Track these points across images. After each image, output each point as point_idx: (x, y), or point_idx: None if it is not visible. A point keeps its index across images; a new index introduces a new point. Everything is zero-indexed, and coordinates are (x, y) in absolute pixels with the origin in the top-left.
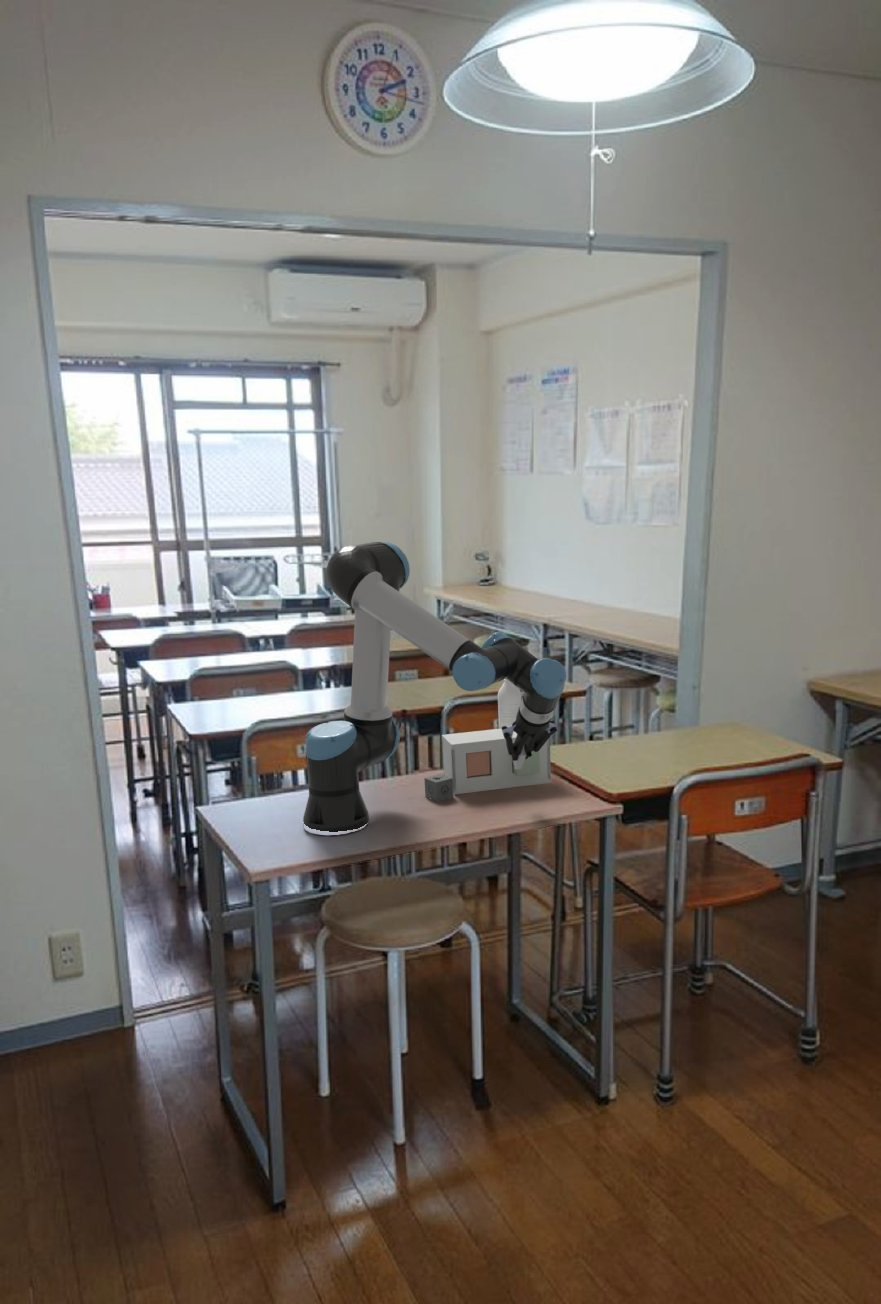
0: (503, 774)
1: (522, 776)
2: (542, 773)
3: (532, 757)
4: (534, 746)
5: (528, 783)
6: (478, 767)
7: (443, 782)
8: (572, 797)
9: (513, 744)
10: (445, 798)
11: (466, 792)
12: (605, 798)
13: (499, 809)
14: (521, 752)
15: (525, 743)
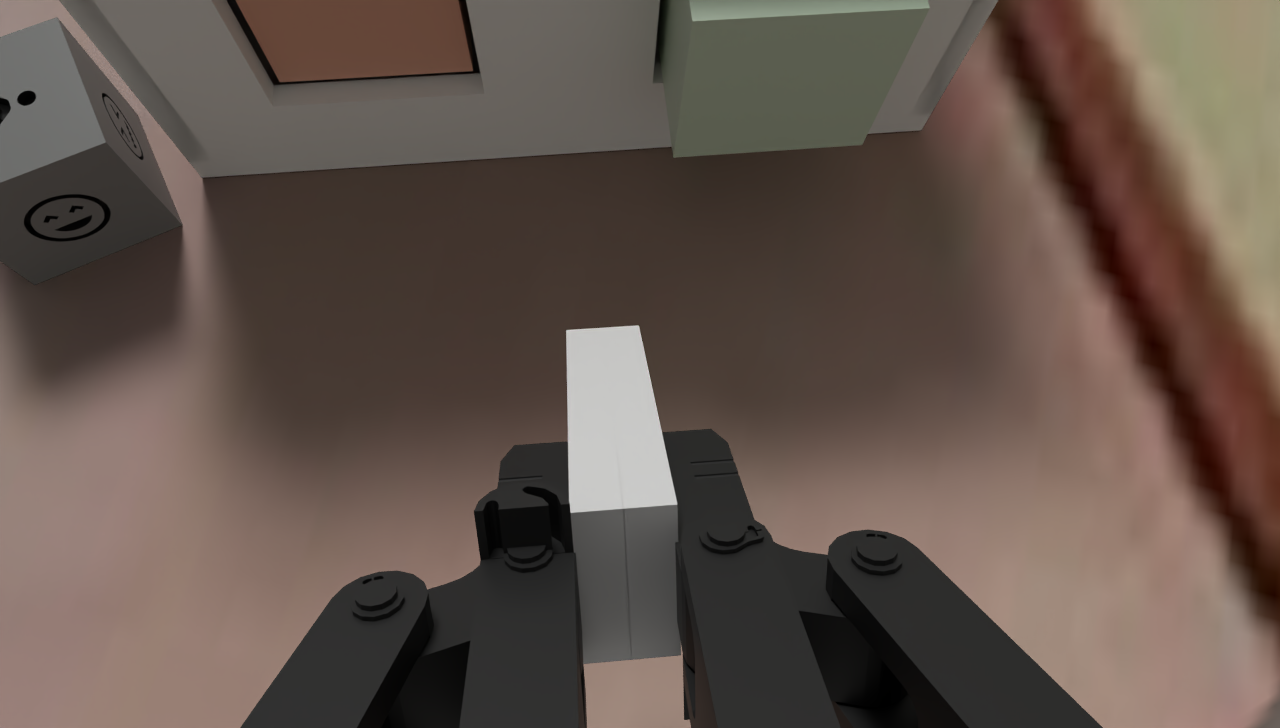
0: (578, 89)
1: None
2: None
3: (839, 61)
4: (849, 680)
5: None
6: (358, 32)
7: (19, 188)
8: (1028, 462)
9: (494, 518)
10: (109, 250)
11: (299, 169)
12: (1271, 551)
13: (431, 578)
14: (617, 611)
15: (694, 653)
